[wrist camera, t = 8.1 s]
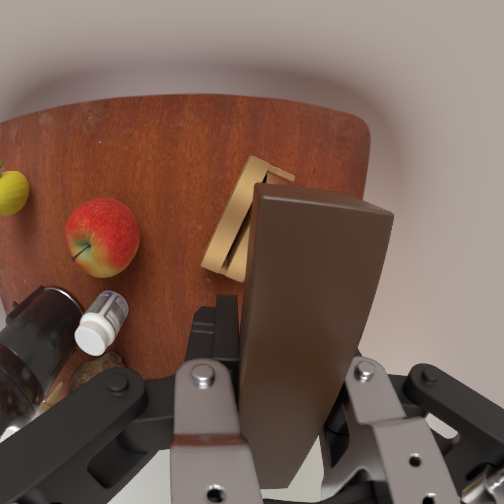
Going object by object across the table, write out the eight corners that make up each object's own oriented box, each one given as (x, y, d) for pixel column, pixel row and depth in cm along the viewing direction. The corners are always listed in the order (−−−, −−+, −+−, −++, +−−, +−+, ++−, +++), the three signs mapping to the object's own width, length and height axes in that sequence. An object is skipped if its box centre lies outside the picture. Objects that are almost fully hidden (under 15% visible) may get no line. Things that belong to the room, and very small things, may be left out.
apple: (164, 233, 30) (136, 266, 21) (117, 269, 31) (81, 310, 22) (124, 176, 27) (80, 187, 18) (80, 218, 28) (32, 243, 19)
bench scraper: (268, 337, 17) (287, 488, 7) (234, 334, 17) (228, 489, 7) (291, 174, 14) (396, 213, 4) (248, 170, 14) (260, 194, 4)
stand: (241, 268, 32) (242, 283, 28) (203, 252, 31) (200, 266, 27) (287, 174, 29) (296, 176, 25) (248, 155, 28) (251, 154, 24)
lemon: (26, 221, 28) (-20, 243, 18) (8, 192, 26) (-39, 207, 17) (48, 186, 27) (-3, 201, 17) (28, 156, 25) (-23, 163, 15)
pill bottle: (96, 312, 33) (71, 347, 25) (100, 284, 32) (71, 318, 24) (126, 325, 34) (105, 364, 26) (132, 298, 32) (109, 335, 25)
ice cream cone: (50, 382, 38) (21, 435, 24) (51, 366, 36) (17, 422, 22) (73, 396, 39) (48, 452, 25) (75, 381, 37) (45, 441, 23)
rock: (125, 349, 35) (108, 407, 26) (133, 372, 38) (121, 425, 30) (72, 339, 34) (50, 390, 25) (84, 362, 37) (67, 410, 29)
